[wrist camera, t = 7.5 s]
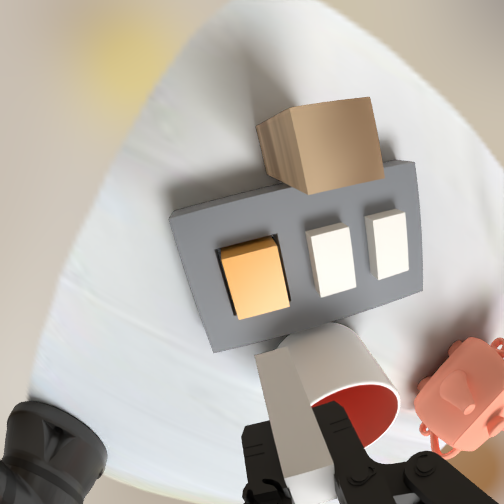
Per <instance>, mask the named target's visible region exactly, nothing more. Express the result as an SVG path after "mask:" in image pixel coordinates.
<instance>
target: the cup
mask: <svg viewBox="0 0 504 504" xmlns="http://www.w3.org/2000/svg"><path fill="white" fill-rule="evenodd" d="M283 347H288V350H289V352H290V355H291V357H292V360H293V362H294V365H295V367H296V370H297V372H298V375H299V377H300V380H301V382H302V385H303V387H304V390H305V392H306V395H307V397H308V400H309V402H310V405H311V408H312V407H316V406H319V405H322V404H325V403H328V402H331V401H336V402H337V403H338V404H340V405H341V406H342V407H344V409H345V411H346V413H347V415H348V417H349V419H350V421H351V423H352V425H353V427H354V429H355V431H356V433H357V435H358V437H359V439H360V441H361V443H362V445H363V447H364V449H365V448H367V447H368V446H370V445H371V444H373V443H374V442H375V441H377V440H378V439H379V438H380V437H382V436H383V435H384V434H385V433H386V432H387V430H388V429H389V428H390V427H391V425H392V424H393V423H394V421H395V419H396V417H397V415H398V413H399V409H400V396H399V393H398V391H397V390H396V388H395V387H394V385H393V384H392V382H391V381H390V380H389V378H388V377H387V375H386V374H385V373H384V371H383V370H382V368H381V367H380V365H379V364H378V363H377V361H376V360H375V358H374V357H373V356H372V354H371V353H370V351H369V350H368V349H367V347H366V346H365V344H364V343H363V342H362V340H361V339H360V337H359V336H358V335H357V334H356V333H355V332H354V331H353V330H351V329H350V328H348V327H346V326H344V325H341V324H338V323H332V322H329V323H326V324H323V325H319V326H316V327H313V328H309V329H306V330H302V331H299V332H295V333H292V334H290V335H289V336H287V337H286V338H285V339H284V340H283V341H282V342H281V343H280V344H279V346H278V347H277V348H276V349H280V348H283Z"/></svg>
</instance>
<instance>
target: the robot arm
mask: <svg viewBox="0 0 504 504" xmlns="http://www.w3.org/2000/svg"><path fill="white" fill-rule="evenodd" d="M254 356H255V360H256V365H257V369H258V373H259V377H260V382H261V386H262V390H263V394H264V399H265V403H266V407H267V411H268V415H269V421H265V422H261V423H257V424H252V425H248V426H245V428H244V431H243V434H242V436H241V439H242V446H243V452H244V458H245V466H246V472H247V479H248V483H247V484H246V486H245V488H244V489H243V495H242V498H243V499H244V501H245V503H244V504H320V503H324V502H327V501H330V500H333V499H336V498H337V497H338V500H339V503H340V504H498V503H497V502H496V501H495V500H493V499H492V498H491V497H490V496H488V495H487V494H486V493H485V492H483V491H482V490H481V489H480V488H479V487H477V486H476V485H475V484H474V483H472V482H471V481H470V480H469V479H468V478H466V477H465V476H464V475H463V474H461V473H460V472H459V471H458V470H457V469H456V468H454V467H453V466H452V465H451V464H450V463H448V462H447V461H446V460H445V459H444V458H442V457H441V456H440V455H439V454H437V453H435V452H432V451H423V452H418V453H416V454H415V455H413V456H411V458H410V459H409V460H408V461H407V462H401V463H395V464H381V463H377V462H375V461H373V460H372V459H371V458H370V457H369V456H368V454H367V453H366V451H365V449H364V447H363V445H362V443H361V441H360V439H359V437H358V435H357V433H356V431H355V429H354V427H353V425H352V423H351V421H350V419H349V417H348V415H347V413H346V411H345V409H344V407H342V406H341V405H340V404H338V403H337V402H336V401H331V402H328V403H325V404H322V405H319V406H316V407H312V408H311V405H310V402H309V400H308V397H307V395H306V392H305V390H304V387H303V385H302V382H301V380H300V377H299V375H298V372H297V370H296V367H295V365H294V362H293V360H292V357H291V355H290V352H289V350H288V347H283V348H280V349H276V350H273V351H269V352H265V353H261V354H258V355H254ZM106 462H107V451H106V449H105V447H104V445H103V443H102V442H101V440H100V439H99V438H98V437H97V436H96V435H95V434H94V433H93V432H92V431H91V430H90V429H89V428H88V427H87V426H85V425H84V424H83V423H81V422H80V421H79V420H77V419H76V418H74V417H72V416H71V415H69V414H67V413H65V412H63V411H61V410H59V409H57V408H55V407H52V406H49V405H46V404H43V403H39V402H32V401H27V402H21V403H19V404H17V405H16V406H15V407H14V409H13V411H12V412H11V414H10V416H9V418H8V421H7V433H6V439H5V448H4V456H3V458H2V460H0V504H83V501H84V498H85V496H86V495H87V494H88V492H89V491H90V489H91V488H92V486H93V485H94V483H95V481H96V479H98V478H100V477H101V475H102V474H103V472H104V470H105V466H106Z"/></svg>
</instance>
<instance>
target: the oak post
mask: <svg viewBox="0 0 504 504" xmlns="http://www.w3.org/2000/svg"><path fill="white" fill-rule="evenodd" d="M256 130H257V134H258V138H259V143H260V147H261V151H262V155H263V160H264V164H265V168H266V173H267V175H269V176H271V177H273V178H275V179H277V180H279V181H282V182H284V183H285V184H287V185H289V186H291V187H293V188H295V189H297V190H299V191H301V192H303V193H305V194H307V195H311V194H315V193H320V192H324V191H328V190H333V189H337V188H342V187H346V186H351V185H356V184H360V183H365V182H370V181H374V180H379V179H384V178H385V175H384V168H383V162H382V156H381V150H380V144H379V139H378V133H377V128H376V123H375V118H374V113H373V109H372V104H371V100H370V97H363V98H354V99H345V100H337V101H330V102H322V103H316V104H309V105H303V106H297V107H291V108H288V109H286V110H284V111H282V112H281V113H279V114H277V115H275V116H273V117H271V118H270V119H268V120H266V121H264V122H263V123H261V124H259V125H257V126H256Z"/></svg>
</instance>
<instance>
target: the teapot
mask: <svg viewBox="0 0 504 504" xmlns="http://www.w3.org/2000/svg"><path fill="white" fill-rule="evenodd" d="M501 344H502V345H503V346H502V348H501V350H499V349H497V347H498V346H499V345H501ZM448 355H449V358H448V359H447V360H446V361H445V362H444V363H443V364H442V365H441V366H440V367H439V369H438V370H437V371H436V372H435V373H434V375H433V376H432V377H431V376H428V377H425V378H424V379H422V380H421V381H420V383H419V384H418V387H417V389H418V390H419V391H420V392H419V394H418V395H417V396H416V398H415V400H414V406H415V411H416V413H417V415H418V417H419V418H420V419H421V421H422V423H421V425H420V428H419V429H420V432H421V434H422V435H424V436H428V435H430V439H431V449H432V452H435V453H437V454H439V455H440V456H441V457H442V458H444V459H445V460H446V459H450V458H453V457H454V456H455V455H457V454H458V453H459V452H460V451H461V450H464V451H474V450H475V449H477V448H478V447H479V446H480V445H482V444H483V443H484V442H485V441H486V440H487V439H488V438H489V437H493V436H495V435H497V434H498V433H499V432H500V431H501V430H503V431H504V359H503V358H504V339H503V338H497V339H495V340H494V341H493V342H492V344H491V346H490V345H489V344H487V343H486V342H485V341H483V340H481V339H478V338H474V337H469V338H467V339H466V340H465V341H464V342H463V343H462V341H460V340H458V341H456V342H454V343H453V344H452V345H451V347H450V348H449V351H448ZM427 427H428V429H429V430H428V431H426V428H427ZM438 437H439V438H440V439H441V440H443V441H444V442H445V443H447V444H448V445H450V446H451V447H453V448H454V449H452V450H451V451H450V452H448V453H446V454H442V453H441V451H440V448H439V443H438Z"/></svg>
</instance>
